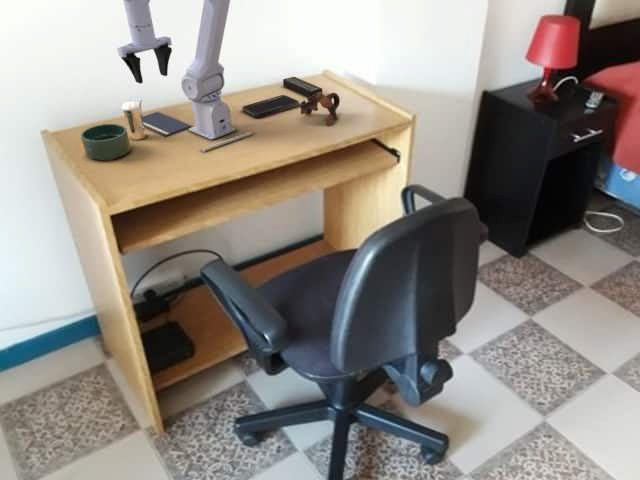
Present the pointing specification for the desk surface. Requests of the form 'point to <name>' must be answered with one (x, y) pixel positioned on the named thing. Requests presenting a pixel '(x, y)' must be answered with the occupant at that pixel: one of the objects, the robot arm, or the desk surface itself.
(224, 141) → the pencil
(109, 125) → the bowl
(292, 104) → the phone
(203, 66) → the robot arm
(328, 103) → the brown looped figurine
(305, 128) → the desk surface
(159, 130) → the blue notebook
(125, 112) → the milkshake
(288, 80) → the multiport hub
